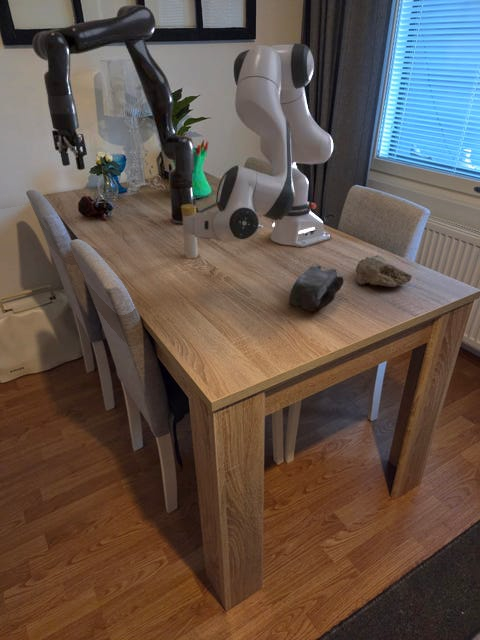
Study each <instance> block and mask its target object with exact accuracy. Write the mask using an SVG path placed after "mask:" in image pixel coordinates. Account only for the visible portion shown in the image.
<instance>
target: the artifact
mask: <svg viewBox="0 0 480 640" xmlns="http://www.w3.org/2000/svg"><path fill="white" fill-rule="evenodd" d="M355 273H356V275H355V276H356V277H355V279H356V282H357V283H358V284H359V285H360V286H362V285H365V284H366V283H367V284H370V285H371V286H384V287H390V288H394V287H397V286H399V285H400V286H402V285H405V284H407V283H409V282H410V281H412V277H413V275H412V274H410V273H408V272H405V271H403V270H401V269H399V268H397V267H396V266H394V265H392V264H390V262H388V261H387V260H386V259H385V258H383V256H381V255H374V256H371V257H369V256H367V257H366V258H363V259H360V260H359V261H358V263H357V265H356V268H355Z"/></svg>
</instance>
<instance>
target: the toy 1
mask: <svg viewBox="0 0 480 640" xmlns="http://www.w3.org/2000/svg"><path fill="white" fill-rule="evenodd" d="M99 199H100V196H99V195H95V196H94V197H91V196H90V195H83V196H82V197H81V198H80V199H79V201H78V203H77V211H78V212H79V214H80V215H81V216H83V217H86V218H88V219H94V220H99V221H100V220H101V221H106V219H105V216H106V217H108V218H111V217H112V216H113V213H114V212H112V211H113V210H114V208H115V204H114V203H113V202H112V200H110V199H108V200H105V199H100V200H99Z"/></svg>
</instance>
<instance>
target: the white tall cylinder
mask: <svg viewBox="0 0 480 640" xmlns="http://www.w3.org/2000/svg"><path fill="white" fill-rule="evenodd" d="M194 215H195V214H194ZM194 215H183V214H182V216H183V224H182V230H183V246H184V257H185V258H187V259H195V258H197V257H198V253H199V252H198V238H196V237H195V235H190V234H187V233H185V219H187V218H188V217H191V216H194Z"/></svg>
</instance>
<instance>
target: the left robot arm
mask: <svg viewBox="0 0 480 640" xmlns="http://www.w3.org/2000/svg"><path fill="white" fill-rule="evenodd" d="M156 26H157V25H156V19H155V15H154V13H153V12H152V11H151V9H150V8H148V7H147V6H145V5H141V4H134V5H132V4H131V5H124V6H121V7H120V8H119V9H118V10H117V13H116V16H114V17H109V18H104V19H94V20H88V21H84V22H79V23H75V24H72V25H68V26H66V27H61V28H55V29H49V30H43V31H40V32H37V33H36V34H35V35H34V36H33V38H32V49H33V51H34V53H35V54H36V57H38V58H40V59H42V60H44V61H46V62H47V71H46V72H45V73H44V74H43V75H44V76H43V80H44V86H45V90H46V95H47V96H46V97H47V106H48V110H49V115H50V119H51V124H52V128H53V129H54V130H52V131H51V133H52V138H53V139H52V140H53V145H54V149H55V151H58V153H59V154H60V159H61V163H62V166H63V167H67V166H70V164H71V162H70V156H69V152H68V150H69V151H71V152H72V153H73V154H74V158H75V163H76V164H75V165H76V169H77V170H78V171H83V170H85V168H86V166H85V161H84V157H85V156H87V155H88V152H87V147H86V142H85V136H84V134H83V133H79V134H78V133H77V129H79V127H80V124H79V118H78V113H77V107H76V101H75V99H74V94H73V89H72V83H71V55H80V54H84V53H87V52H91V51H95V50H98V49H100V48H103V47H107V46H109V45H113V44H116V43H117V44H118V43H120V42H123V43H124V45H125V48H126V49H127V50H126V51H127V52H128V54H129V56H130V59H131V61H132V64H133V66H134V69H135V72H136V74H137V77H138V79H139V81H140V85H141V89H142V92H143V94H144V97H145V100H146V102H147V105H148V107H149V110H150V112H151V115H152V119H153V122H154V124H155V127H156V132H157V135H158V139H159V143H160V147H161V150H162V153H163V155H164V156H165V158H167V159H169V160H171V161H173V160H175V165H174V169H170V171H169V172H168V182H169V189H170V193H169V195H170V196H169V197H170V206H171V207H170V208H171V209H170V210H171V212H170V214H171V215H170V216H171V222H172V223H174V224H177V225H183V216H182V210H181V206H182V205H185V204H193V205H195V206H196V213H199V212H206V210H209V209H210V208H211V209H212V208H213V207H215V206H217V203H213V204H211V205H209V206H207V207H205V208H203V209H202V210H201V209H200V210H199V208H198V207H197V205H196V199H195V197H194V196H193V181H192V174H193V170H194V149H195V147H194V148H193V145H194V143H193V144H192V141H193V140H192V141H191V140H190V137H188V136H185V135H178V134H177V132H176V130H175V127H174V125H173V120H172V113H173V107H174V96H173V93H172V90H171V89H172V88H171V87H170V83H169V80H168V78H167V76H166V74H165V73H164V71H163V70H162V68H161V67H160V65H158V63H157V61H155V59H154V58H153V56H152V54H151V52H150V50H149V48H148V46H147V43H146V40H148V39H150V38H151V37H152V36H153V35H154V33H155V31H156Z"/></svg>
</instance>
